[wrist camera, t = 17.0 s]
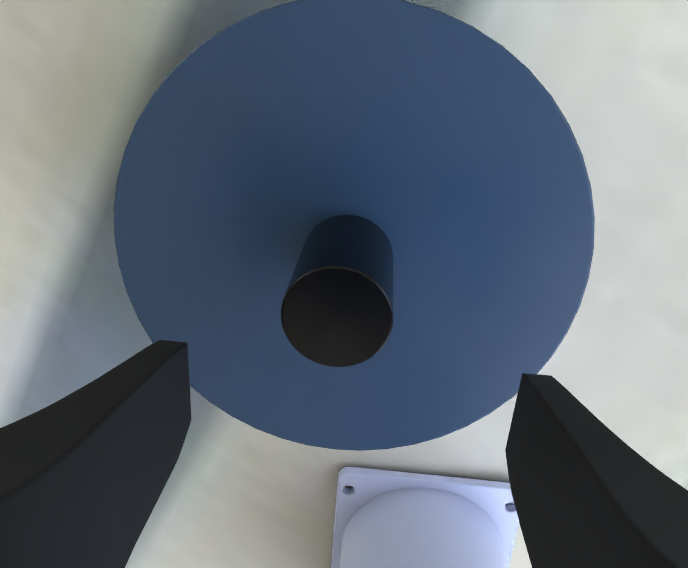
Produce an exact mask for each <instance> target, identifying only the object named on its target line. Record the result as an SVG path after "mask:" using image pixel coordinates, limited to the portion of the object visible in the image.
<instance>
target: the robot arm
mask: <svg viewBox="0 0 688 568" xmlns="http://www.w3.org/2000/svg"><path fill="white" fill-rule="evenodd" d="M190 422H191V404H190V383H189V362H188V342H179V341H168V340H159V341H157V342H155V343H153V344H152V345H150V346H148V347H147V348H145V349H143V350H142V351H140V352H139V353H137V354H135V355H134V356H132V357H131V358H129V359H128V360H126V361H125V362H123V363H121V364H120V365H118V366H117V367H115V368H113V369H112V370H110V371H109V372H107V373H105V374H104V375H102V376H101V377H99V378H97V379H96V380H94V381H93V382H91V383H89V384H87V385H86V386H84V387H82V388H80V389H78V390H77V391H75V392H73V393H71V394H70V395H68V396H66V397H64V398H62V399H61V400H59V401H57V402H55V403H53V404H52V405H50V406H48V407H46V408H44V409H42V410H40V411H38V412H36V413H34V414H31V415H29V416H27V417H25V418H23V419H20V420H18V421H16V422H14V423H12V424H9V425H7V426H5V427H2V428H0V568H125V566H126V564H127V562H128V559H129V557H130V555H131V553H132V550H133V548H134V546H135V544H136V542H137V540H138V538H139V536H140V534H141V532H142V530H143V528H144V526H145V524H146V522H147V520H148V518H149V516H150V514H151V512H152V510H153V508H154V506H155V504H156V502H157V500H158V499H159V497H160V495H161V493H162V491H163V489H164V487H165V485H166V483H167V481H168V479H169V476H170V474H171V472H172V470H173V468H174V466H175V464H176V462H177V460H178V458H179V455H180V452H181V449H182V446H183V443H184V440H185V437H186V434H187V431H188V428H189V425H190ZM506 458H507V466H508V474H509V481H510V483H506V482H496V481H487V480H477V479H467V478H457V477H447V476H437V475H427V474H418V473H408V472H398V471H388V470H378V469H368V468H358V467H345V468H342V469H341V470H340V471H339V474H338V483H337V496H336V509H335V522H334V535H333V547H332V560H331V568H508V567H509V563H510V558H511V554H512V550H513V546H514V541H515V537H516V533H517V529H518V524H519V523H520V526H521V530H522V533H523V537H524V540H525V544H526V547H527V551H528V554H529V558H530V561H531V565H532V568H688V491H687V490H686V489H685V488H683V487H682V486H680V485H679V484H677V483H676V482H674V481H673V480H672V479H670V478H669V477H667V476H666V475H665V474H663V473H662V472H661V471H659V470H658V469H657V468H655V467H654V466H653V465H651V464H650V463H649V462H648V461H646V460H645V459H644V458H643V457H641V456H640V455H639V454H638V453H636V452H635V451H634V450H633V449H632V448H630V447H629V446H628V445H627V444H626V443H624V442H623V441H622V440H621V439H620V438H619V437H617V436H616V435H615V434H614V433H613V432H612V431H611V430H609V429H608V428H607V427H606V426H605V425H604V424H603V423H602V422H601V421H600V420H598V419H597V418H596V417H595V416H594V415H593V414H592V413H591V412H590V411H589V410H588V409H587V408H586V407H585V406H584V405H583V404H581V403H580V402H579V401H578V400H577V399H576V398H575V397H574V396H573V395H572V394H571V393H570V392H569V391H568V390H567V389H566V388H565V387H564V386H562V385H561V384H560V383H559V382H558V381H557V380H556V379H555V378H553V377H552V376H548V375H538V374H527V373H522V376H521V381H520V386H519V390H518V395H517V399H516V404H515V409H514V413H513V418H512V422H511V427H510V431H509V436H508V441H507V445H506ZM345 486H352V487H353V488H352V489H348V488H345ZM510 502H513V503H514V504H512V505H506V504H507V503H510Z"/></svg>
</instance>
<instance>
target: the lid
mask: <svg viewBox="0 0 688 568" xmlns="http://www.w3.org/2000/svg"><path fill="white" fill-rule="evenodd" d="M594 218H595V217H594V209H593V200H592V192H591V185H590V181H589V178H588V174H587V170H586V166H585V163H584V159H583V155H582V153H581V151H580V148H579V146H578V144H577V141H576V139H575V137H574V134H573V132H572V130H571V127H570V125H569V123H568V122H567V120H566V119H565V117H564V115H563V114H562V112H561V111H560V109H559V107H558V106H557V104H556V102H555V101H554V99H553V98H552V96H551V95H550V94H549V92H548V91H547V90H546V89H545V88H544V86H543V85H542V84H541V83H540V82H539V81H538V79H537V78H536V77H535V76H534V75H533V74H532V72H531V71H530V70H529V69H528V68H527V67H526V66H525V65H524V64H522V63H521V62H520V61H519V60H518V59H517V58H516V57H514V56H513V55H512V54H511V53H510V52H509V51H508V50H506V49H505V48H504V47H503V46H502V45H500V44H499V43H497V42H496V41H494V40H493V39H491V38H490V37H488V36H486V35H485V34H483V33H482V32H480V31H479V30H477V29H476V28H474V27H473V26H471V25H469V24H466V23H464V22H462V21H460V20H458V19H455V18H453V17H451V16H449V15H447V14H445V13H442V12H440V11H438V10H434V9H431V8H428V7H424V6H421V5H417V4H414V3H411V2H407V1H404V0H295V1H291V2H288V3H285V4H281V5H278V6H275V7H271V8H268V9H265V10H261V11H259V12H257V13H255V14H252V15H250V16H248V17H246V18H244V19H242V20H240V21H238V22H235V23H233V24H231V25H229V26H227V27H226V28H224V29H223V30H221V31H220V32H218V33H217V34H215V35H214V36H212V37H211V38H209V39H208V40H206V41H205V42H203V43H202V44H200V45H199V46H198V47H197V48H196V49H194V50H193V51H192V52H191V53H190V54H189V55H188V56H187V57H186V58H184V59H183V60H182V61H181V62H180V63H179V64H178V65H177V66H176V67H175V68H174V69H173V70H172V71H171V72H170V74H169V75H168V76H167V77H166V78H165V80H164V81H163V82H162V83H161V84H160V86H159V87H158V88H157V89H156V90H155V92H154V93H153V95H152V96H151V98H150V100H149V101H148V103H147V105H146V106H145V108H144V110H143V111H142V113H141V115H140V116H139V118H138V119H137V122H136V124H135V126H134V129H133V131H132V134H131V136H130V138H129V141H128V143H127V145H126V148H125V151H124V155H123V159H122V163H121V166H120V170H119V174H118V178H117V187H116V195H115V204H114V229H115V242H116V249H117V255H118V262H119V267H120V270H121V274H122V277H123V281H124V284H125V287H126V291H127V294H128V296H129V298H130V301H131V303H132V305H133V308H134V310H135V312H136V314H137V317H138V319H139V321H140V322H141V324H142V326H143V327H144V329H145V331H146V332H147V334H148V336H149V338H150V339H151V341H152V343H155V342H157V341H159V340H168V341H179V342H188V362H189V383H190V386H191V387H192V388H194V389H195V390H196V391H197V392H198V393H200V394H201V395H202V396H203V397H204V398H206V399H207V400H208V401H209V402H211V403H212V404H214V405H215V406H217V407H218V408H220V409H221V410H223V411H225V412H226V413H228V414H229V415H231V416H232V417H234V418H236V419H238V420H240V421H242V422H244V423H246V424H248V425H250V426H252V427H254V428H256V429H258V430H261V431H264V432H266V433H269V434H272V435H274V436H277V437H279V438H282V439H286V440H290V441H294V442H297V443H301V444H305V445H310V446H316V447H323V448H329V449H341V450H377V449H390V448H396V447H402V446H408V445H413V444H417V443H421V442H424V441H428V440H431V439H435V438H439V437H442V436H444V435H447V434H449V433H451V432H454V431H456V430H459V429H461V428H464V427H466V426H468V425H470V424H471V423H473V422H475V421H477V420H479V419H481V418H482V417H484V416H486V415H488V414H490V413H491V412H493V411H494V410H495V409H497V408H498V407H500V406H501V405H502V404H504V403H505V402H507V401H508V400H509V399H511V398H512V397H513V396H514V395H515V394H517V393H518V390H519V386H520V381H521V376H522V373H527V374H537V373H538V372H539V371H540V370H541V369H542V367H543V366H544V365H545V364H546V363H547V361H548V360H549V359H550V358H551V357H552V355H553V354H554V352H555V351H556V349H557V347H558V346H559V344H560V343H561V341H562V340H563V338H564V337H565V335H566V334H567V332H568V330H569V328H570V325H571V323H572V321H573V319H574V317H575V315H576V313H577V311H578V309H579V307H580V303H581V300H582V297H583V294H584V291H585V288H586V285H587V282H588V278H589V273H590V267H591V261H592V255H593V249H594Z"/></svg>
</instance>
